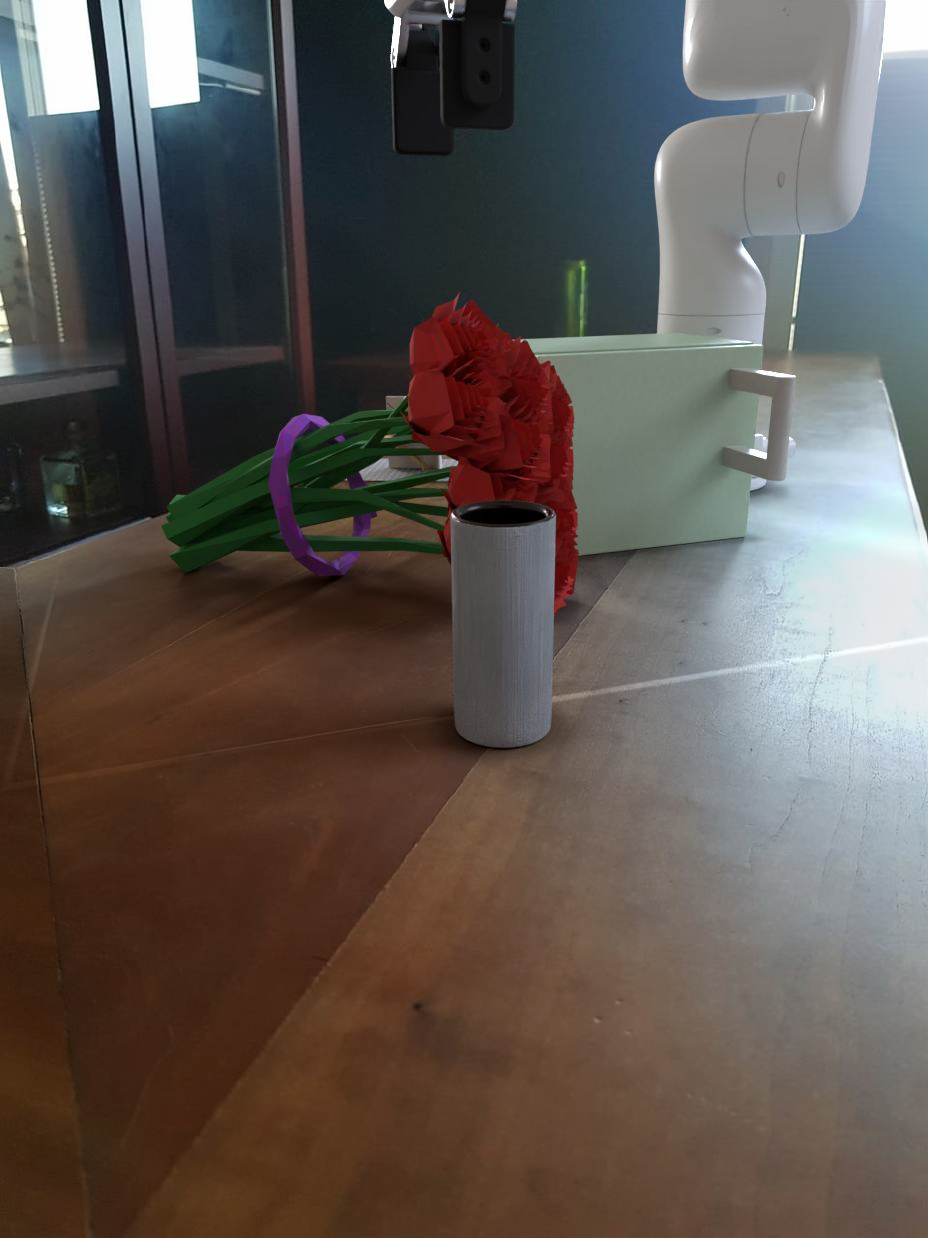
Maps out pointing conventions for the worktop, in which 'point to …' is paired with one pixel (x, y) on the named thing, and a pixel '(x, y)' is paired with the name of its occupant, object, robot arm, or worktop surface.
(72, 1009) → the worktop surface
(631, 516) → the door
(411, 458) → the architectural model
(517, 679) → the planter
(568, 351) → the cupboard
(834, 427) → the worktop surface
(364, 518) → the bouquet
